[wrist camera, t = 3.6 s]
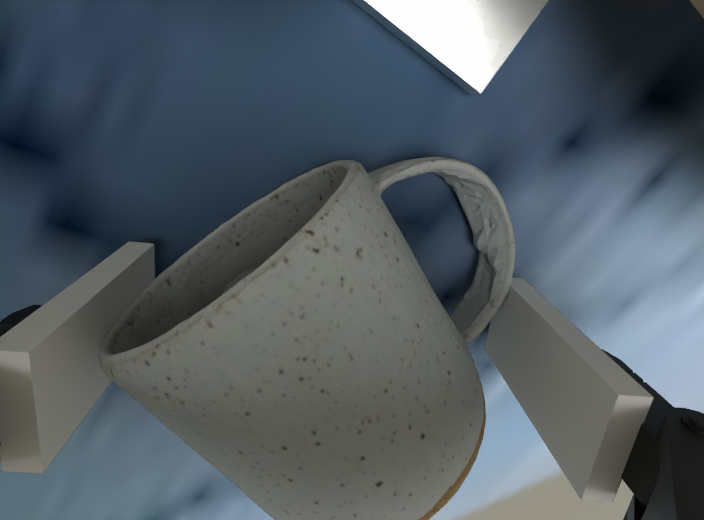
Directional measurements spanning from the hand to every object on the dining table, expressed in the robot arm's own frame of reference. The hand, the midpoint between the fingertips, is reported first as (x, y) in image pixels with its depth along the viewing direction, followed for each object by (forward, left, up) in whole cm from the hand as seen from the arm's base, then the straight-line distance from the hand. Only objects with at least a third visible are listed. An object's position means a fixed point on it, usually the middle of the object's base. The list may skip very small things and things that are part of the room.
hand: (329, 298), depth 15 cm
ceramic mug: (0, +1, -1) cm, 1 cm away
